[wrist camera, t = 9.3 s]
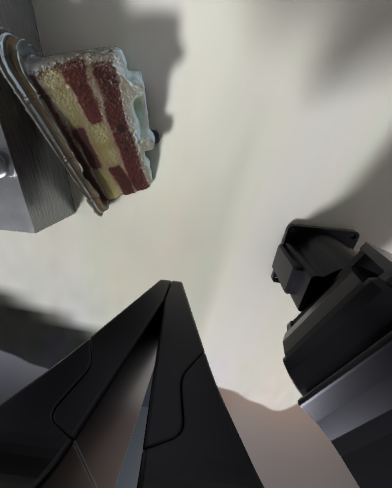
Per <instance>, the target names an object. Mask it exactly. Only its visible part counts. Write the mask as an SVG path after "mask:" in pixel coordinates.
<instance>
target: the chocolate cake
mask: <svg viewBox="0 0 392 488" xmlns="http://www.w3.org/2000/svg"><path fill="white" fill-rule="evenodd" d="M0 71H1V72H2V74H3V75H4V77H5V78H6V80H7V81H8V83H9V84H10V85H11V87H12V89H13V90H14V91H13V92H14V93H15V94H16V95H17V96H18V98H19V99H20V101H21V103H22V104H23V105H24V107H25V108H26V109H25V111H26V112H27V113H28V115H29V116H30V117H31V119H32V121H33V122H34V123H35V125H36V127H37V128H38V130H39V131H40V132H41V133H42V135H43V136H44V138H45V140H46V141H47V143H48V144H49V145H51V147H52V149H53V150H54V152H55V153H56V155H57V156H58V158H59V159H60V160H61V161H62V163H63V164H64V166H65V167H66V169H67V171H68V172H69V174H70V177H71V178H72V179H73V180H74V182H75V184H76V185H77V186H78V187H80V190H81V191H82V192H83V194H84V195H85V196H86V198H87V199H86V200H87V202H88V204H89V205H90V206H91V207H92V208H93V210H94V213H96V214H97V215H98V216H102V215H103V212H104V211H106V210H107V209H108V208H109V202H108V199H114V198H118V197H119V196H120V195H122V194H124V195H128V194H131V193H136V192H137V191H139V190H144V189H147V188H148V187H149V186H150V184H151V183H152V182H153V179H152V170H151V168H150V160H149V159H148V158H147V157H146V155H145V151H147V150H152V149H153V148H154V144H156V143H158V141H159V134H158V132H157V131H154V130H150V128H149V121H148V110H147V103H146V95H145V86H144V82H143V78H142V74H141V71H140V70H134V71H130V70H128V69H127V61H126V58H125V56H124V54H123V51H122V50H121V49H120V48H118V47H107V48H105V47H103V48H97V49H94V50H81V51H75V52H72V53H63V54H58V55H54V56H47V57H43V56H42V55H40V54H39V53H38V52H37V51H36V50H35V49H34V47H33V46H32V45H30V44H28V43H27V41H26V40H25V39H19V38H18V37H16V36H15V35H14V34H13V33H12V32H10V31H9V30H6V29H4V28H2V27H0Z"/></svg>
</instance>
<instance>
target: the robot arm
mask: <svg viewBox="0 0 392 488" xmlns="http://www.w3.org/2000/svg"><path fill="white" fill-rule="evenodd" d="M292 228H294V231H291V232H290V230H291V229H292ZM351 235H353V237H351ZM350 237H351V238H350ZM358 238H359V233H358V232H356V231H354V230H346V229H336V228H326V227H316V226H306V225H297V224H290V225H288V226H287V228H286V231H285V234H284V237H283V240H282V243H281V244H280V245H279V246H278V249H277V252H276V255H275V259H274V262H273V265H272V267H273V272H272V275H271V278H272V280H273V281H274V282H277V283H280V284H281V286H282V288H283V290H284V291H285V293H286V294H290V295H291V297H292V299H293V301H294V303H295V305H296V307H297V309H298V310H299V311H301V313H300V314H299V315H298V316H297V317H296V318H295V319H294V320H293V321H290V322H289V323H288V325H287V332H286V333H285V336H284V340H283V346H284V352H285V357H284V358H283V362H284V365H285V367H286V370H287V372H288V374H289V376H290V378H291V380H292V381H293V383H294V385H295V386H296V388H297V389H298V391H299V392H300V393H301V395H302V397H301V398H300V399H299V400H298V404H299V405H300V407H301V408H302V409H303V410H304V411H305V412H306V413H307V414H308V415H309V416H310V417H311V418H312V419H313V420H314V421H315V422H316V423H317V424H318V425H319V426H320V428H321V429H322V431H323V432H324V433H325V434H326V436H327V437H328V438H329V439H330V441H331V442H332V444H333V445H334V447H335V448H336V450H337V451H338V453H339V454H340V455H341V457H342V459H343V461H344V462H345V464H346V466H347V467H348V469H349V471H350V472H351V474H352V475H353V477H354V479H355V480H356V482H357V484H358V485H359V487H360V488H392V254H391V253H389V252H387V251H385V250H382V249H380V248H378V247H376V246H374V245H372V244H370V243H368V242H366V243H365V244H364V245H363V246H362V247H361V248H360V249H361V250H360V251H359V253H357V252H356V251H354V250H353V248H354V246H355V244H356V242H357V240H358ZM275 277H278V278H275ZM154 365H155V366H154ZM153 368H154V373H153V380H152V387H151V394H150V401H149V409H148V416H147V424H146V430H145V438H144V444H143V453H142V459H141V465H140V472H139V477H138V483H137V488H264V486H263V484H262V482H261V481H260V479H259V476H258V474H257V472H256V470H255V468H254V466H253V464H252V462H251V460H250V458H249V456H248V453H247V451H246V449H245V447H244V445H243V443H242V440H241V438H240V436H239V434H238V432H237V430H236V428H235V425H234V423H233V421H232V419H231V417H230V415H229V413H228V410H227V408H226V406H225V404H224V402H223V399H222V397H221V395H220V392H219V390H218V388H217V385H216V383H215V380H214V377H213V375H212V372H211V369H210V366H209V363H208V360H207V357H206V354H205V353H204V348H203V345H202V342H201V339H200V336H199V333H198V330H197V327H196V324H195V321H194V318H193V315H192V312H191V308H190V305H189V302H188V299H187V296H186V293H185V290H184V287H183V284H182V282H178V281H172V282H171V281H169V280H160V281H159V282H157V283H156V284H155V285H154V286H153V287H151V288H150V289H149V290H148V291H146V292H145V293H144V294H143V295H142V296H140V297H139V298H138V299H137V300H135V301H134V302H133V303H132V304H131V305H129V306H128V307H127V308H126V309H125V310H123V311H122V312H121V313H120V314H118V315H117V316H116V317H115V318H114V319H112V320H111V321H110V322H109V323H107V324H106V325H105V326H104V327H103V328H101V329H100V330H99V331H98V332H96V333H95V334H94V335H93V336H92V337H91V338H90V339H88V340H87V341H85V342H84V343H83V344H82V345H80V346H79V347H78V348H77V349H75V350H74V351H73V352H72V353H70V354H69V355H68V356H67V357H65V358H64V359H63V360H61V361H60V362H59V363H58V364H56V365H55V366H53V367H52V368H51V369H49V370H48V371H47V372H45V373H44V374H42V375H41V376H40V377H38V378H37V379H36V380H34V381H33V382H31V383H30V384H28V385H27V386H26V387H24V388H23V389H21V390H20V391H18V392H17V393H16V394H14V395H13V396H11V397H10V398H9V399H7V400H6V401H4V402H3V403H1V404H0V488H115V485H116V482H117V479H118V476H119V473H120V470H121V467H122V464H123V461H124V458H125V454H126V451H127V448H128V445H129V442H130V439H131V436H132V433H133V429H134V427H135V424H136V421H137V417H138V414H139V411H140V408H141V405H142V402H143V399H144V396H145V393H146V390H147V387H148V384H149V381H150V378H151V374H152V371H153Z"/></svg>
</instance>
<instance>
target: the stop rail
mask: <svg viewBox="0 0 392 488" xmlns="http://www.w3.org/2000/svg"><path fill="white" fill-rule="evenodd" d="M0 27H2V28H4V29H6V30H9V31H10V32H12V33H13V34H14V35H15V36H16V37H18V38H19V39H25V40H26V41H27V43H28V44H30V45H32V46H33V47H34V49H35V50H36V51H37V52H38V53H39V54H40V55H42V51H41V47H40V42H39V37H38V32H37V27H36V23H35V18H34V13H33V8H32V3H31V0H0ZM13 91H14V90H13V89H12V87H11V85H10V84H9V83H8V81H7V80H6V78H5V77H4V75H3V74H2V72H1V71H0V230H9V231H18V232H28V233H37V232H39V231H41V230H43V229H45V228H47V227H49V226H51V225H53V224H55V223H57V222H59V221H61V220H63V219H65V218H67V217H69V216H71V215H73V214H75V211H74V206H73V201H72V196H71V191H70V186H69V182H68V177H67V172H66V167H65V166H64V164H63V163H62V161H61V160H60V159H59V158H58V156H57V155H56V153H55V152H54V150H53V149H52V147H51V145H49V144H48V143H47V141H46V140H45V138H44V136H43V135H42V133H41V132H40V131H39V130H38V128H37V127H36V125H35V123H34V122H33V121H32V119H31V117H30V116H29V115H28V113H27V112H26V111H25V109H26V108H25V107H24V105H23V104H22V103H21V101H20V99H19V98H18V96H17V95H16V94H15V93H14V92H13Z"/></svg>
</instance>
